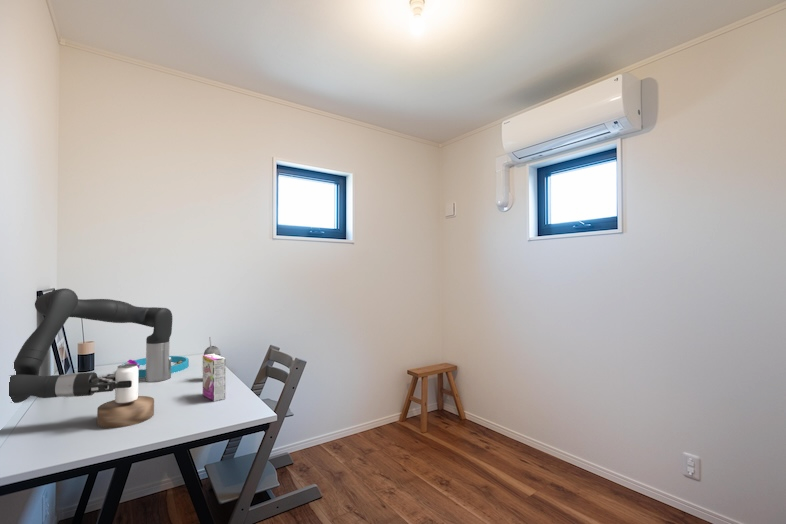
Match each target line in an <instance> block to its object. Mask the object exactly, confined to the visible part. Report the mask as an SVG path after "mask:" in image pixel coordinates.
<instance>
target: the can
mask: <svg viewBox="0 0 786 524" xmlns="http://www.w3.org/2000/svg"><path fill="white" fill-rule="evenodd" d="M122 364H123V365H122ZM122 364H120V365H118V366H117V369H116V370H115V374H116V381H118V382H119V381H129V380H131V381H132V386H131V387H130V388H118V389H116V390H115V392H114V400H115V402H116V403H120V404H123V403H130V402H133V401H135V400H137V398H138V396H139V380H138V369H139V368H138V367H137V364H124V363H122Z"/></svg>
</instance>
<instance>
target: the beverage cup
mask: <svg viewBox="0 0 786 524" xmlns="http://www.w3.org/2000/svg"><path fill="white" fill-rule="evenodd" d="M220 350H221V349H219V348H218V347H217V346H216V345H212V338H211V336H209V346H208V347H207V348H205V349H204V352H203V355H208V354H216V355H219V356H221V351H220Z"/></svg>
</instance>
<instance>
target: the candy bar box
mask: <svg viewBox="0 0 786 524" xmlns="http://www.w3.org/2000/svg"><path fill="white" fill-rule="evenodd" d="M202 396H203V397H205V398H207V399H208V400H210V401H212V402H213V401H215V402H218V401H217V400H219V401H222V399H223V400H225V399H226V357H224V356H221V355H220V356H219V355H216V354H208V355H204V354H203V355H202Z"/></svg>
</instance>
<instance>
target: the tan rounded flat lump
mask: <svg viewBox="0 0 786 524" xmlns="http://www.w3.org/2000/svg"><path fill="white" fill-rule="evenodd" d="M96 410H97V411H96V412H97V414H96V415H97V417H96V420H97V421H96V422H97V423H96V424H97V427H99V428H103V429H115V428H116V429H117V428H124V427H130V426H133V425H137V424H141V423H143V422H146V421H148V420H150V419H151V418H153V417H154V415H155V398H154V397H151V396H145V395H138V398H137V400H135V401H133V402H130V403H123V404H120V403H116V402H115V399H112V400H109V401H106V402H103V404H100V405H99V406H98V407H97V409H96ZM152 416H153V417H152Z"/></svg>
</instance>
